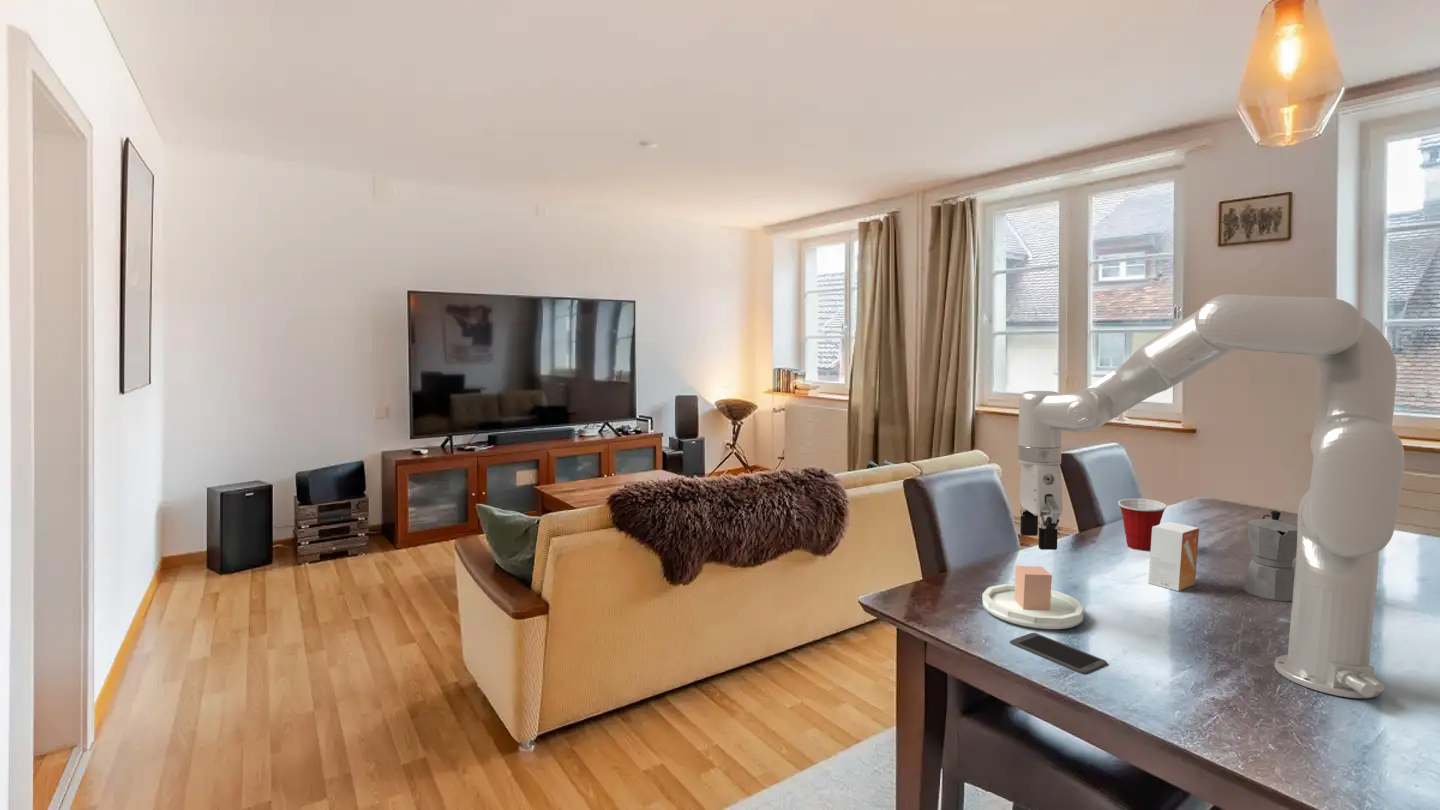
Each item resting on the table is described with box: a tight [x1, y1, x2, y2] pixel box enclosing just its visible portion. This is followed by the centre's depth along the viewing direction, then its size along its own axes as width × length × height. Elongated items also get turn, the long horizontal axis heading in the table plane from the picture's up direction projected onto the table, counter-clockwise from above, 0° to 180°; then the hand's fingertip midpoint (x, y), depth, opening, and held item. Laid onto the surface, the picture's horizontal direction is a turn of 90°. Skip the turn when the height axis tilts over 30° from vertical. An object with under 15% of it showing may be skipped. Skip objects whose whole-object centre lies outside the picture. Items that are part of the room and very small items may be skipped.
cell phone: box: [1009, 632, 1108, 675], centre depth 117 cm, size 7×14×1 cm, turn 32°
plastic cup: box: [1117, 498, 1167, 551], centre depth 177 cm, size 11×11×12 cm
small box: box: [1147, 521, 1200, 592], centre depth 150 cm, size 8×6×13 cm
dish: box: [981, 583, 1085, 630], centre depth 134 cm, size 18×18×3 cm
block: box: [1014, 565, 1053, 610], centre depth 134 cm, size 5×5×7 cm
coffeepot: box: [1242, 510, 1298, 602], centre depth 145 cm, size 15×9×18 cm, turn 151°
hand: (1038, 542), depth 132 cm, fingers open, 9 cm apart
